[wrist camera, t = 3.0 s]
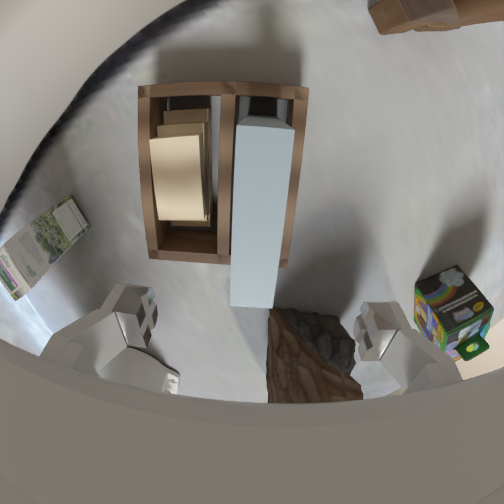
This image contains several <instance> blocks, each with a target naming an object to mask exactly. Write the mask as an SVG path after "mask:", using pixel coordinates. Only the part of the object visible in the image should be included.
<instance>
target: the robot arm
mask: <svg viewBox="0 0 504 504" xmlns="http://www.w3.org/2000/svg"><path fill="white" fill-rule="evenodd" d="M154 296H155V295H154V291H153V289H152V288H150V287H143V286H136V285H130V284H129V285H128V284H122V283H117V284H115V285H114V287H113V289H112V290H111V292H110V293H109V295H108V296H107V298H106V300H105V301H104V303H103V305H102V306H101V308H100V309H95V310H94V311H92V312H90V313H88V314H87V315H85V316H83V317H82V318H80V319H78V320H76V321H75V322H73V323H71V324H70V325H68V326H66V327H64V328H63V329H61V330H59V331H58V332H56V333H54V334H53V335H52V337H51V338H50V340H49V341H48V343H47V345H46V346H45V348H44V350H43V351H42V353H41V355H40V357H39V356H37V355H35V354H32V353H30V352H28V351H25V350H23V349H21V348H19V347H16V346H14V345H12V344H10V343H8V342H6V341H4V340H2V339H0V504H504V367H503V368H500V369H497V370H495V371H492V372H489V373H486V374H483V375H480V376H477V377H474V378H470V379H467V380H463V379H462V377H461V375H460V373H459V371H458V368H457V366H456V364H455V362H454V360H453V358H451V357H450V356H449V355H448V354H446V353H445V352H444V351H443V350H441V349H440V348H439V347H437V346H436V345H435V344H434V343H432V342H431V341H430V340H428V339H427V338H426V337H424V336H423V335H422V334H421V333H419V332H418V331H417V330H415V329H411V326H410V324H409V322H408V320H407V318H406V316H405V314H404V312H403V311H402V309H401V307H400V305H399V303H398V302H364V303H363V304H362V305H361V308H360V311H361V314H360V315H359V316H358V317H356V320H355V323H354V329H353V331H354V337H355V340H356V341H357V342H358V343H359V344H360V345H359V347H358V351H359V355H360V358H361V361H378V360H380V362H381V364H382V365H383V366H384V367H385V368H386V369H387V370H388V371H389V372H390V374H391V375H392V376H393V377H394V378H395V379H396V380H397V381H398V382H399V384H400V385H401V386H402V387H403V388H404V389H405V391H404V393H403V394H401V395H395V396H388V397H381V398H373V399H365V400H355V401H343V402H328V403H298V404H282V403H251V402H236V401H225V400H215V399H206V398H198V397H191V396H184V395H178V388H179V379H180V375H179V374H178V373H176V372H175V371H173V370H171V369H168V368H166V367H165V366H164V365H162V364H161V363H160V362H159V361H157V360H156V359H154V358H153V357H151V356H149V355H148V354H146V353H143V352H141V351H139V350H136V349H133V348H128V347H127V345H129V346H135V347H141V348H147V346H148V343H149V340H150V338H151V333H150V330H151V329H153V328H154V327H155V325H156V322H157V315H158V313H157V305H156V304H155V302H154V301H153V298H154Z"/></svg>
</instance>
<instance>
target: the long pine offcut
mask: <svg viewBox="0 0 504 504" xmlns="http://www.w3.org/2000/svg"><path fill="white" fill-rule="evenodd" d="M188 122H208V173H209V205H210V214H209V217H208V219H207V221H180V220H171V226H203V227H211V224H212V221H213V202H212V159H211V108H201V109H183V110H170V111H164V124H172V123H188Z"/></svg>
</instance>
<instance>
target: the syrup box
mask: <svg viewBox="0 0 504 504" xmlns="http://www.w3.org/2000/svg"><path fill="white" fill-rule="evenodd" d="M89 228H90V225H89V224H88V222H87V221H86V219H85V217H84V216H83V214H82V213H81V211H80V209H79V208H78V206H77V205H76V203H75V201H74V199H73V198H72V196H71V195H69V196H67V197H66V198H65V199H63V200H62V201H60V202H59V203H57V204H56V205H54V206H53V207H51V208H50V209H49V210H47V211H46V212H44V213H43V214H42V215H40V216H39V217H37V218H36V219H35V220H33V221H32V222H31V223H29V224H28V225H27V226H25V227H24V228H23V229H22V230H20V231H19V232H18V233H17V234H15V235H14V236H13V237H12V238H10V239H9V240H8V241H7V242H6V243H5V244H4V245H3V246H2V247H1V249H0V281H1V282H2V284H3V285H4V286H5V288H6V289H7V291H8V292H9V293H10V295H11V296H12V297H13V298H14V300H15V301H16V300H18V299H19V298H21V297H22V296H23V295H25V294H26V293H27V292H29V291H30V290H31V289H32V288H33V287H34V286H35V285H36V284H37V282H38V281H39V280H40V279H41V278H42V277H43V275H44V274H45V273H46V272H47V271H48V270H49V269H50V268H51V267H52V266H53V265H54V263H55V262H56V261H57V260H58V259H59V258H60V257H61V256H62V255H63V254H64V253H65V252H66V251H67V250H68V249H69V248H70V247H71V246H72V245H73V244H74V243H75V242H76V241H77V240H78V239H79V238H80V237H81V236H82V235H83V234H84V233H85V232H86V231H87V230H88V229H89Z"/></svg>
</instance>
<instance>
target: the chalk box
mask: <svg viewBox="0 0 504 504" xmlns="http://www.w3.org/2000/svg"><path fill="white" fill-rule="evenodd" d="M493 311H494V308H493V306H492V305H491V304H490V303H489V301H488V300H487V299H486V298H485V296H484V295H483V294H482V293H481V292H480V290H479V289H478V288H477V287H476V286H475V284H474V283H473V282H472V281H471V280H470V279H469V278H468V276H467V275H466V274H465V273H464V272H463V271H462V270H461V269H460V268H459V266H458V265H457V266H455V267H452V268H450V269H448V270H446V271H444V272H441V273H439V274H437V275H434V276H432V277H430V278H427V279H425V280H422V281H420V282H417V283H415V306H414V322H415V323H416V325H417V327H418V329H419V330H420V332H421V334H422V335H423V336H424V337H426V338H427V339H428V340H430V341H431V342H432V343H434V344H435V345H436V346H437V347H439V348H440V349H441V350H443V351H444V352H445V353H446V354H448V355H449V356H450V357H451V358H453V360H454V362H455V361H457V360H459V359H461V358H463V360H465V361H469V360H471V359H472V358H474V357H476V356H478V355H479V354H481V353H483V352H484V351H486V350H487V349H489V345H488V343H487V342H486V341H485V340H484V338H485V336H486V334H487V332H488V330H489V327H490V321H491V318H492V314H493ZM477 348H478V349H477ZM476 349H477V350H476ZM474 350H475V351H474Z"/></svg>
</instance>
